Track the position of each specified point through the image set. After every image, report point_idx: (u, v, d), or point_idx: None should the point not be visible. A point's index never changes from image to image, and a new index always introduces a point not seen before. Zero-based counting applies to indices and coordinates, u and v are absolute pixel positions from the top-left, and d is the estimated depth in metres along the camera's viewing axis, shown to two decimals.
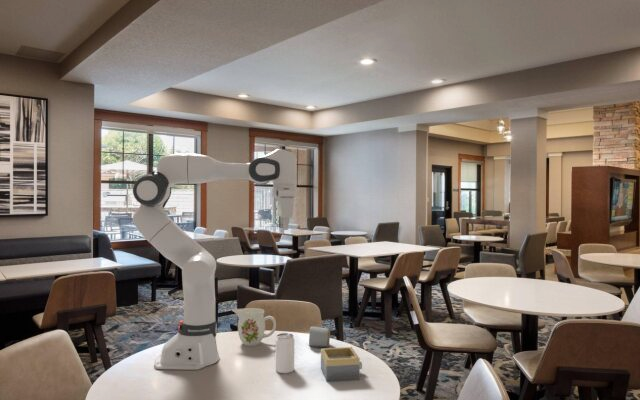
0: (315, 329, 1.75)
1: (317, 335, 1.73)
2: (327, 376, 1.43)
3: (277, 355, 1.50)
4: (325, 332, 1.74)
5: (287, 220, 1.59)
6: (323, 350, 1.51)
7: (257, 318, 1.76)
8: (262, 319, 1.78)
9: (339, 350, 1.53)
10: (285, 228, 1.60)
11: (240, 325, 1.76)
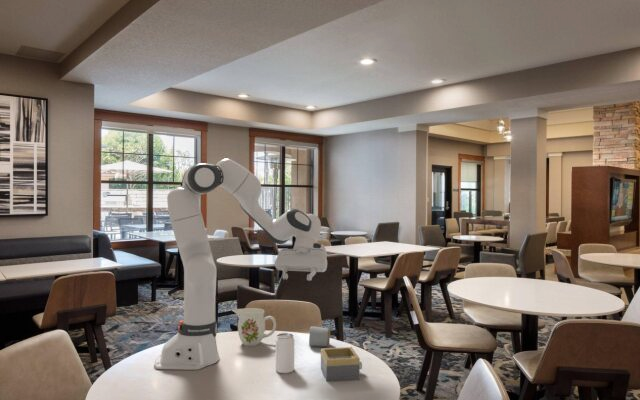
0: (315, 329, 1.76)
1: (317, 335, 1.74)
2: (327, 376, 1.43)
3: (277, 355, 1.50)
4: (325, 331, 1.75)
5: (315, 272, 1.64)
6: (323, 350, 1.51)
7: (258, 318, 1.76)
8: (262, 319, 1.78)
9: (339, 350, 1.53)
10: (310, 278, 1.62)
11: (240, 325, 1.76)
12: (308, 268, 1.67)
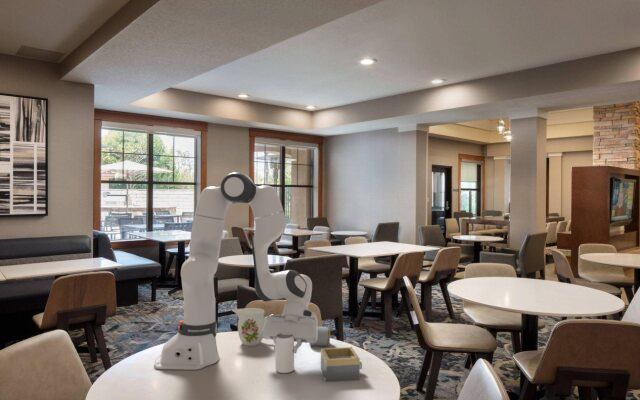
0: None
1: None
2: (327, 376, 1.43)
3: (277, 355, 1.50)
4: (325, 331, 1.76)
5: (300, 343, 1.52)
6: (323, 350, 1.51)
7: (258, 318, 1.76)
8: (262, 319, 1.78)
9: (339, 350, 1.53)
10: (295, 350, 1.50)
11: (240, 325, 1.76)
12: None
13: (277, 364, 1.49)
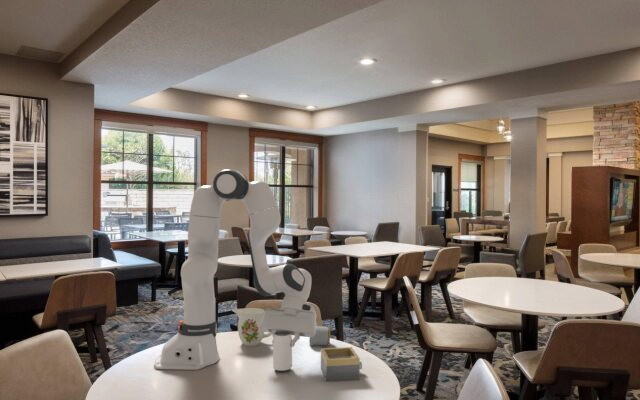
0: None
1: (317, 334, 1.75)
2: (327, 376, 1.43)
3: (275, 353, 1.49)
4: (325, 330, 1.76)
5: (298, 337, 1.52)
6: (323, 350, 1.51)
7: (257, 318, 1.76)
8: None
9: (339, 350, 1.53)
10: (293, 344, 1.50)
11: (240, 325, 1.76)
12: None
13: (275, 362, 1.49)
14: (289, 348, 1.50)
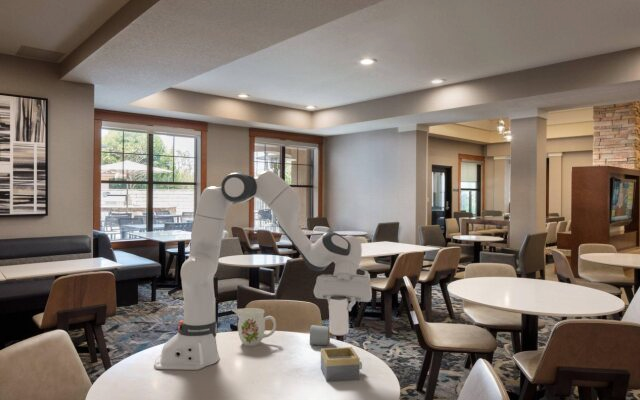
0: (315, 327, 1.77)
1: (317, 334, 1.75)
2: (327, 376, 1.43)
3: (332, 317, 1.47)
4: (325, 330, 1.76)
5: (355, 302, 1.50)
6: (323, 350, 1.51)
7: (257, 318, 1.76)
8: (262, 319, 1.78)
9: (339, 350, 1.53)
10: (350, 308, 1.47)
11: (240, 325, 1.76)
12: None
13: (333, 327, 1.47)
14: (346, 312, 1.47)
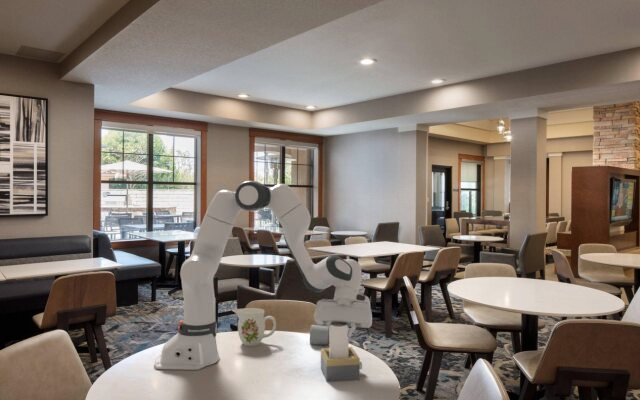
0: (316, 327, 1.78)
1: (318, 334, 1.76)
2: (327, 376, 1.43)
3: (332, 343, 1.47)
4: (325, 330, 1.77)
5: (355, 328, 1.50)
6: (323, 350, 1.51)
7: (258, 318, 1.76)
8: (262, 319, 1.78)
9: None
10: (350, 335, 1.47)
11: (240, 325, 1.76)
12: None
13: (333, 353, 1.47)
14: (346, 339, 1.47)
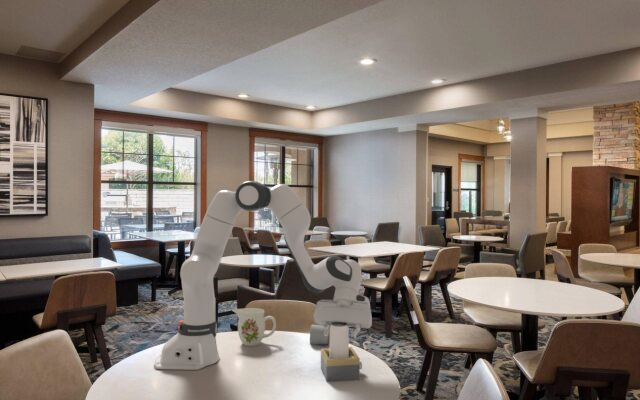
0: (316, 327, 1.78)
1: (318, 333, 1.76)
2: (327, 376, 1.43)
3: (333, 343, 1.47)
4: None
5: (359, 329, 1.49)
6: (323, 350, 1.51)
7: (258, 318, 1.76)
8: (262, 319, 1.78)
9: None
10: (355, 336, 1.47)
11: (240, 325, 1.76)
12: (351, 323, 1.51)
13: (333, 353, 1.47)
14: (347, 339, 1.47)
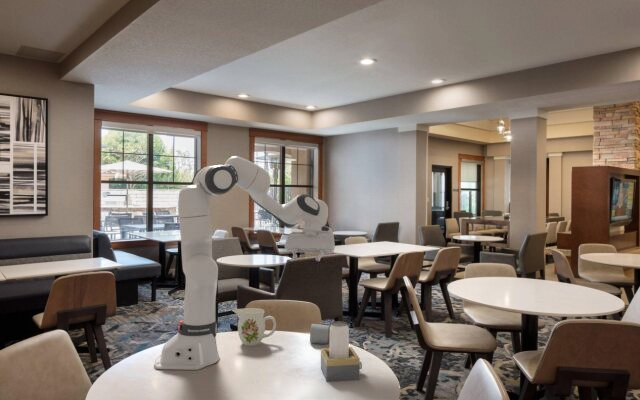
0: (316, 326, 1.79)
1: (318, 333, 1.77)
2: (327, 376, 1.43)
3: (333, 343, 1.47)
4: (325, 329, 1.78)
5: (323, 253, 1.73)
6: (323, 350, 1.51)
7: (258, 318, 1.76)
8: (262, 319, 1.78)
9: None
10: (319, 258, 1.71)
11: (240, 325, 1.76)
12: (316, 250, 1.75)
13: (333, 353, 1.47)
14: (347, 339, 1.47)
